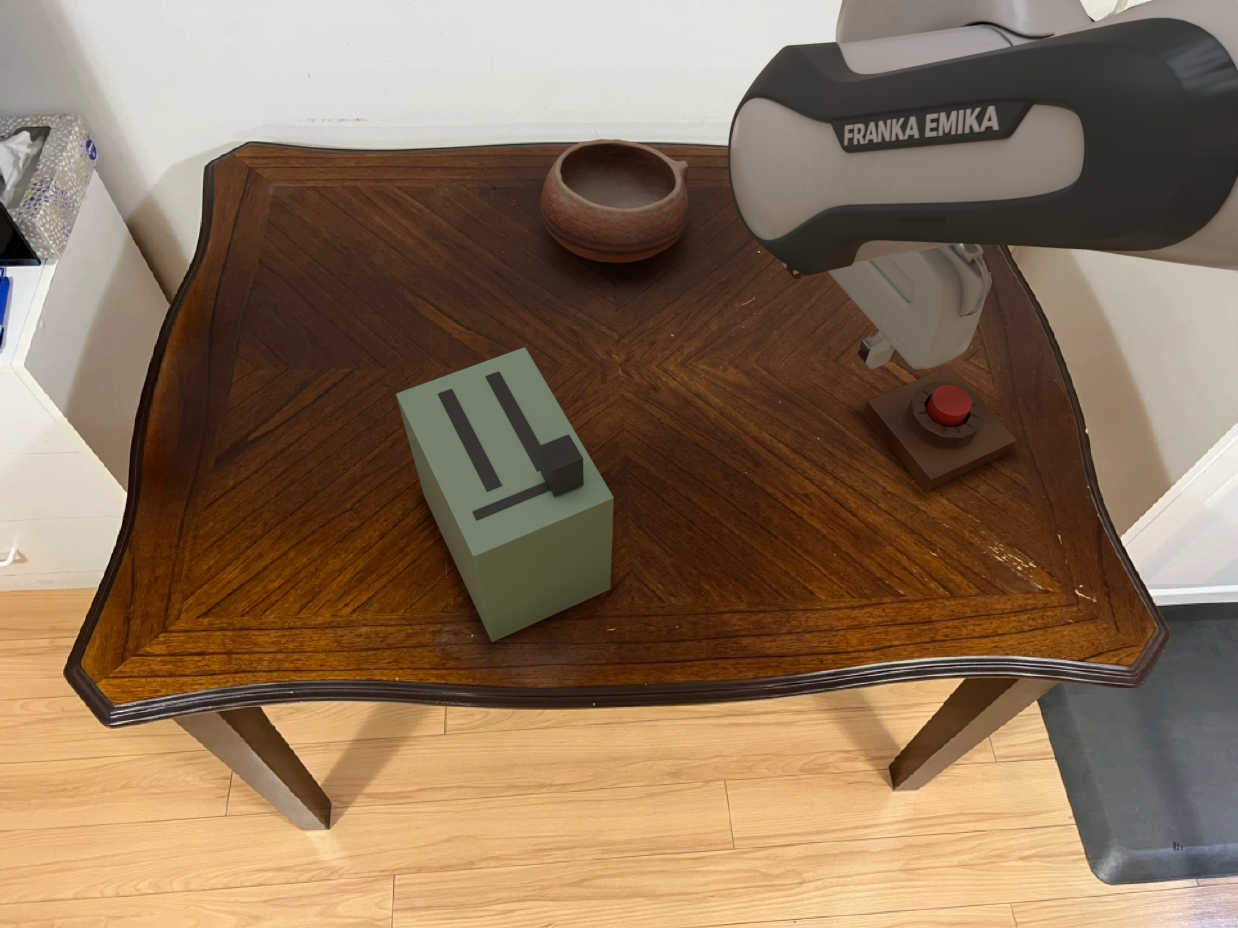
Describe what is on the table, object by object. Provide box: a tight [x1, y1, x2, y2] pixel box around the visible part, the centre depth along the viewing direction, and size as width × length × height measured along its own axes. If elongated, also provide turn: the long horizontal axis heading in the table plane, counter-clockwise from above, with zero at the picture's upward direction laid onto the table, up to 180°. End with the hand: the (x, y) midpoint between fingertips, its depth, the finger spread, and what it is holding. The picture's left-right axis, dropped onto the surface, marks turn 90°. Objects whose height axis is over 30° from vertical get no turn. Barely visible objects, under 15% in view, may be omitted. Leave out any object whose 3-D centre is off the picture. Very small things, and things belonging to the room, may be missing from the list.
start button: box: [927, 385, 972, 427], centre depth 88 cm, size 4×4×2 cm
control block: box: [862, 365, 1018, 493], centre depth 90 cm, size 10×10×4 cm
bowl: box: [540, 138, 690, 264], centre depth 101 cm, size 16×16×10 cm
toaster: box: [395, 346, 615, 643], centre depth 78 cm, size 16×11×15 cm
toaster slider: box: [539, 434, 584, 497], centre depth 68 cm, size 2×2×4 cm
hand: (833, 313), depth 68 cm, fingers open, 8 cm apart
